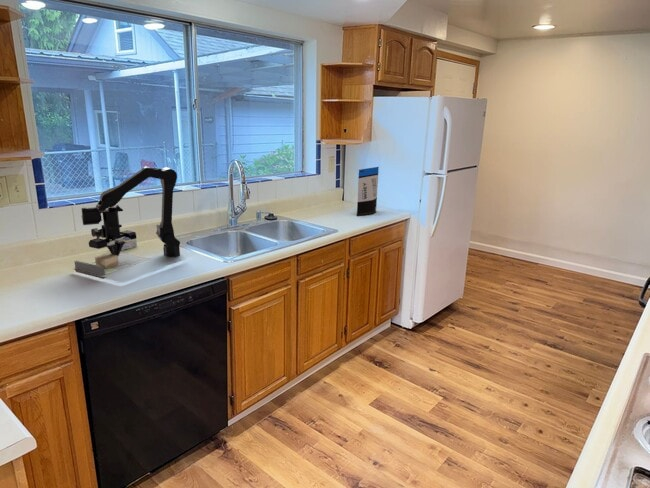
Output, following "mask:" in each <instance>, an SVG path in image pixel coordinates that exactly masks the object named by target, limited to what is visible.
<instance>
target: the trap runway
mask: <svg viewBox="0 0 650 488" xmlns="http://www.w3.org/2000/svg"><path fill="white" fill-rule="evenodd" d="M151 259H152V257H147V256H143V255H142V256H141V255H137V254H133V253H129V252H123V253H119V256H118V262H119V265H117V266H114V267H111V268H108V269H104V267H101V266H97V265H96V263H95V262H91V263H88V262H84V261H80V260H74V262H73V263H74V267H75V273H79V274H82V275H86V276H87V275H88V276H91V277H94V278H98V279H101V280H105V279H106V276H105V275H108V274H110V273H114V272H116V271H119V270H123V269H125V268H129V267H131V266H134V265H136V264H140V263H144V262H145V261H149V260H151ZM122 265H127V266H124V267H121V266H122ZM117 267H121V268H118V269H117Z"/></svg>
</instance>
